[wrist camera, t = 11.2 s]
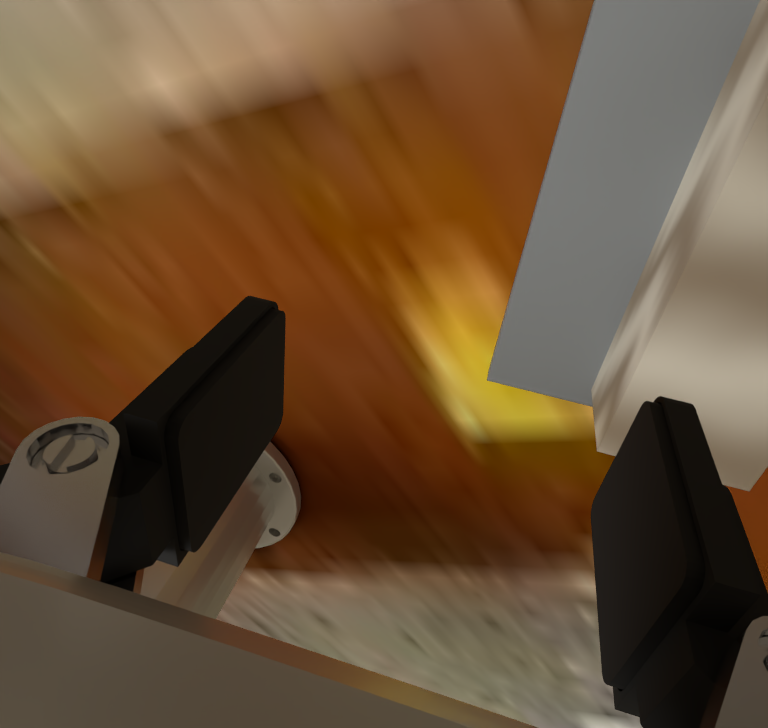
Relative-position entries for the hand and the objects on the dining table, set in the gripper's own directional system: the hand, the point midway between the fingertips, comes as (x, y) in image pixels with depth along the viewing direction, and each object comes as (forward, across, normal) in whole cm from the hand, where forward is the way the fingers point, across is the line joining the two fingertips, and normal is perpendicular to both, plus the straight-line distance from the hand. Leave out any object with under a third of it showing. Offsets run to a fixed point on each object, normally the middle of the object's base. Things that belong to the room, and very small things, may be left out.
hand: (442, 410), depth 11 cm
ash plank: (+15, -9, 0) cm, 17 cm away
